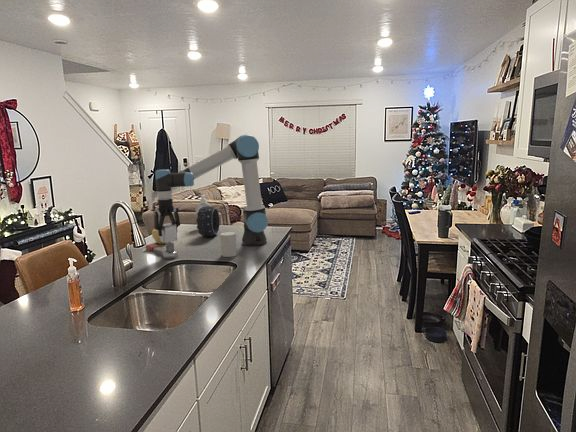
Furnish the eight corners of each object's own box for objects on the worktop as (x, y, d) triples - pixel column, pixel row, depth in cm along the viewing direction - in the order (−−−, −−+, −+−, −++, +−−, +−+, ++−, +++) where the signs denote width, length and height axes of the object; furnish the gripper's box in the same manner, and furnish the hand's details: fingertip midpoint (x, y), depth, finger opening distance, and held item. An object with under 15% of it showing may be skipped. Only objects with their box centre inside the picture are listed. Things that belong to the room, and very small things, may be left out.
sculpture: (150, 244, 242) (148, 228, 240) (161, 239, 253) (160, 223, 251) (166, 245, 238) (164, 228, 236) (177, 240, 250) (175, 224, 248)
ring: (221, 232, 268) (219, 203, 264) (213, 239, 249) (210, 209, 245) (206, 232, 269) (204, 204, 265) (196, 239, 250) (194, 209, 246)
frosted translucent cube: (177, 240, 211) (176, 224, 209) (166, 242, 207) (164, 226, 205) (171, 238, 216) (170, 222, 214) (160, 240, 211) (158, 224, 209)
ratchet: (181, 256, 213) (179, 242, 211) (167, 260, 208) (166, 246, 206) (156, 247, 234) (154, 234, 233) (143, 250, 229) (141, 237, 227)
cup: (220, 254, 215) (218, 233, 213) (233, 251, 219) (232, 231, 217) (224, 257, 208) (223, 236, 206) (238, 255, 212) (237, 234, 210)
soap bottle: (216, 226, 287) (213, 194, 282) (212, 228, 279) (210, 195, 274) (199, 226, 288) (196, 194, 284) (195, 229, 281) (192, 196, 276)
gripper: (178, 195, 216) (181, 235, 221) (144, 200, 203) (148, 242, 207) (184, 197, 211) (188, 237, 215) (150, 201, 197) (155, 245, 202)
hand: (168, 240), depth 211 cm, fingers closed on frosted translucent cube, 7 cm apart
